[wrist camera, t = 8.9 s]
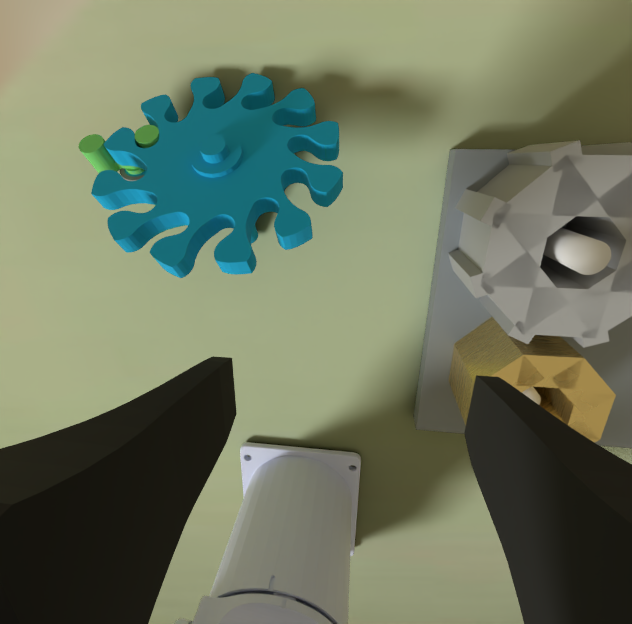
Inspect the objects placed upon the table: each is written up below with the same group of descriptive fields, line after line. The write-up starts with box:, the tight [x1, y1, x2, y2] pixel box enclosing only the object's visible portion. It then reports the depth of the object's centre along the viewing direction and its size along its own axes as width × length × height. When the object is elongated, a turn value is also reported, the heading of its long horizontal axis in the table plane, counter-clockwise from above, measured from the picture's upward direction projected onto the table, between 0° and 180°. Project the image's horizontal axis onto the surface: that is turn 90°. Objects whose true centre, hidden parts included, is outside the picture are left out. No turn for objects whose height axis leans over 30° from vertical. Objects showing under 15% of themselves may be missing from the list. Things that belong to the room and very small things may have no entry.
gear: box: [79, 73, 343, 278], centre depth 17 cm, size 11×6×10 cm
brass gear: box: [449, 317, 616, 443], centre depth 18 cm, size 6×6×4 cm
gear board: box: [414, 140, 632, 448], centre depth 17 cm, size 15×15×6 cm
